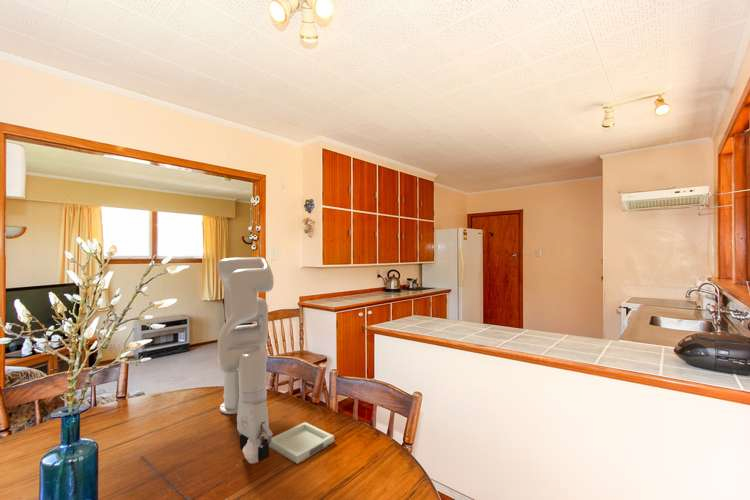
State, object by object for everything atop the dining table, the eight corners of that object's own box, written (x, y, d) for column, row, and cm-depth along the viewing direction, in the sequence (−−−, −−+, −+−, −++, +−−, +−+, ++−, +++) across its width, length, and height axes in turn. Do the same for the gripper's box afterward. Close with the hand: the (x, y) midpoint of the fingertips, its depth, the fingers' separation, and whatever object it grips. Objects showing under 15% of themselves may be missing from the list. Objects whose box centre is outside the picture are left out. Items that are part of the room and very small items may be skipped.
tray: (268, 446, 110) (268, 439, 110) (305, 428, 121) (304, 421, 121) (297, 464, 101) (297, 456, 101) (334, 442, 112) (334, 436, 112)
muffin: (244, 469, 99) (244, 444, 99) (241, 458, 104) (240, 434, 104) (267, 462, 102) (267, 438, 102) (262, 452, 107) (262, 429, 107)
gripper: (226, 391, 106) (227, 448, 106) (257, 406, 95) (259, 470, 95) (249, 383, 112) (250, 438, 111) (281, 397, 100) (282, 458, 100)
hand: (254, 453), depth 103 cm, fingers open, 9 cm apart
